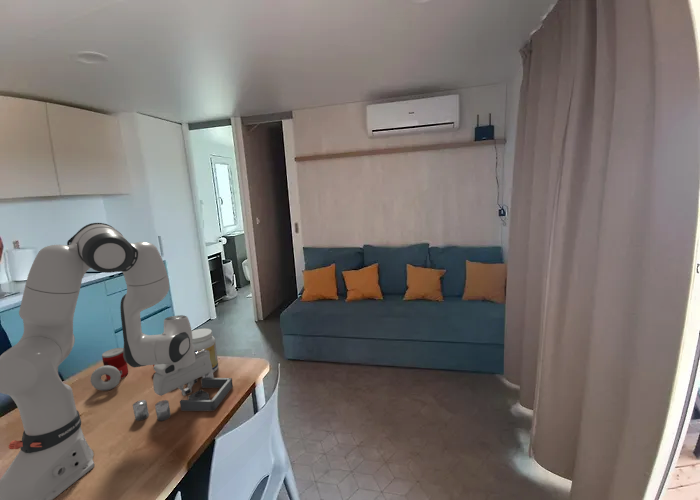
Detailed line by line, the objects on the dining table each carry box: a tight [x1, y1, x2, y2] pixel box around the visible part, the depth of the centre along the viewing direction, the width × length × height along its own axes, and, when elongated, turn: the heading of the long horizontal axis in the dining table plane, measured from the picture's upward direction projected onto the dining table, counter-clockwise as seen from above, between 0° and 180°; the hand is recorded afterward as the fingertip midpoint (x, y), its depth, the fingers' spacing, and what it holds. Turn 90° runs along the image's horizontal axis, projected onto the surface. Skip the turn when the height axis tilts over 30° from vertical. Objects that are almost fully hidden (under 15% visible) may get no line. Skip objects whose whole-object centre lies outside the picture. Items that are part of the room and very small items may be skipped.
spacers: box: [132, 369, 215, 422], centre depth 128 cm, size 25×18×5 cm
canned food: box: [101, 347, 129, 381], centre depth 147 cm, size 8×8×11 cm
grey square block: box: [187, 389, 211, 400], centre depth 126 cm, size 5×5×3 cm
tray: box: [179, 377, 234, 412], centre depth 128 cm, size 15×12×4 cm
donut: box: [90, 365, 122, 392], centre depth 137 cm, size 10×4×10 cm, turn 108°
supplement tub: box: [192, 328, 219, 378], centre depth 146 cm, size 12×12×17 cm
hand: (187, 393), depth 128 cm, fingers closed
